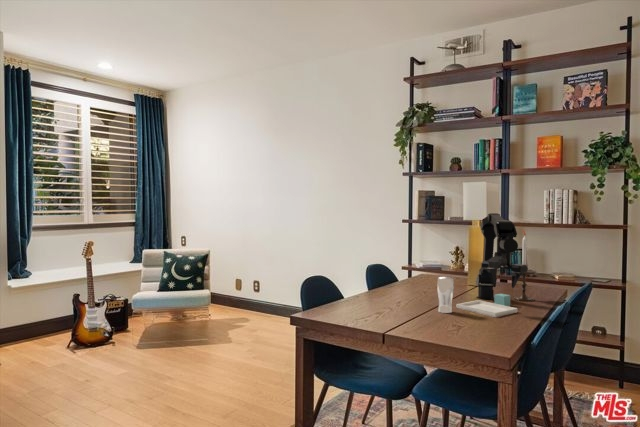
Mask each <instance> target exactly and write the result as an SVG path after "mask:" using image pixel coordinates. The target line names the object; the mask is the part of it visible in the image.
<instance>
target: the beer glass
mask: <svg viewBox="0 0 640 427" xmlns="http://www.w3.org/2000/svg"><path fill="white" fill-rule="evenodd" d="M436 283H437V285H436V287H437V289H436V290H437V296H438V308H437V312H438V313H441V314H452V313H453V308H452V307H453V306H452V302H453V296H454V290H455V285H454V284H455V282H454V277H451V276H438V277H437V282H436Z"/></svg>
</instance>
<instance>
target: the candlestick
mask: <svg viewBox="0 0 640 427" xmlns="http://www.w3.org/2000/svg"><path fill="white" fill-rule="evenodd" d="M522 232H523V238H522V256H521V257H522V258H521V260H522V262H521V264H522V265H526V266H527V267H529V265H528V264H527V254H528V253H527V252H528V250H527V246H528V244H527V241H528V239H527V237H526V231H525V230H524V229H523V230H522ZM511 272H513V271H512V270H511ZM536 274H537V271H536V270H534V269H527V272H524V273H523V274H522V275H521V277H522V282H521V284H520V286H521V288H520V291H521V292H522V293H521V295H516V296H513V300H515V301H518V300H519V302H534V300H535V299H534V298H533V297H532V296H527V294H526V291H527V288H526V287H527V286H528V284H527V283H526V277H527V276H529V275H536Z"/></svg>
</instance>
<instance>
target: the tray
mask: <svg viewBox="0 0 640 427" xmlns="http://www.w3.org/2000/svg"><path fill="white" fill-rule="evenodd" d="M456 309H459V310H463V311H467V312H471V313H476V314H480V315H484V316H487V317H493V318H499V317H503V316H508V315H512V314H517V313H518V307H512V306H504V305H499V304H494V302H489V301H485V300H480V299H477V300H472V301H466V302H460V303H456Z"/></svg>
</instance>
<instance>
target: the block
mask: <svg viewBox="0 0 640 427" xmlns="http://www.w3.org/2000/svg"><path fill="white" fill-rule="evenodd" d="M493 300H494V302H493V303H494V304H499V305H504V306H509V307H511V294H505V293H495V294H494V299H493Z"/></svg>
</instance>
